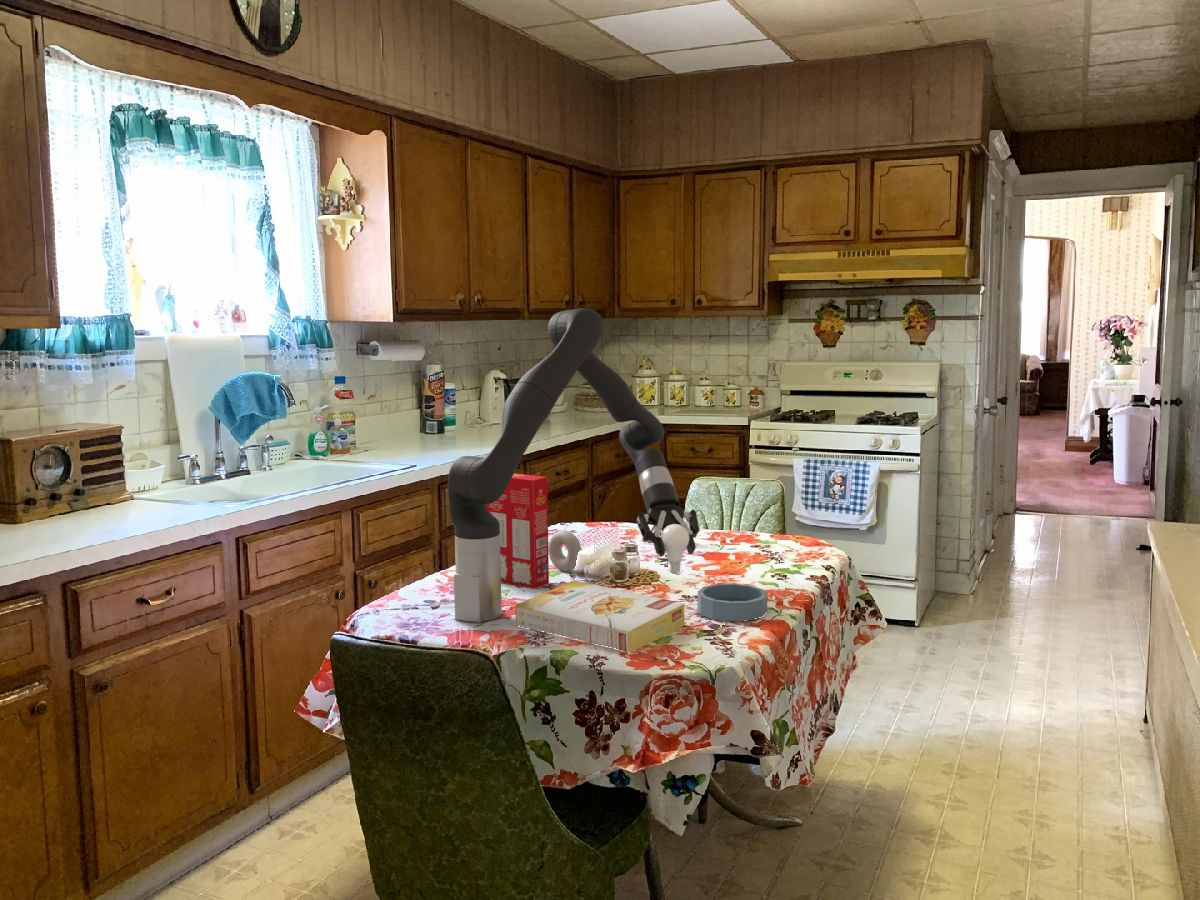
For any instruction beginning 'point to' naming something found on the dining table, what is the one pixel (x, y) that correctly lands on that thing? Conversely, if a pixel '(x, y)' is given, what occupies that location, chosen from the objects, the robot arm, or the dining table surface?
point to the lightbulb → (674, 545)
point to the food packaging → (523, 531)
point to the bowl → (732, 602)
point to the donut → (556, 550)
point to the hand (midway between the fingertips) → (677, 553)
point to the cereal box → (601, 615)
